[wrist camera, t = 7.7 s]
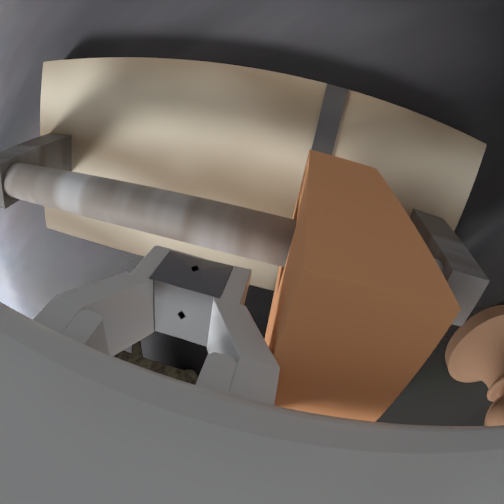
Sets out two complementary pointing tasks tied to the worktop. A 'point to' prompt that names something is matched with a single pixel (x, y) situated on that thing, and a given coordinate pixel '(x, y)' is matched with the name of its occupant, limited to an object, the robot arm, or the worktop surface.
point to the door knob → (481, 357)
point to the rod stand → (227, 161)
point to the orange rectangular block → (353, 296)
